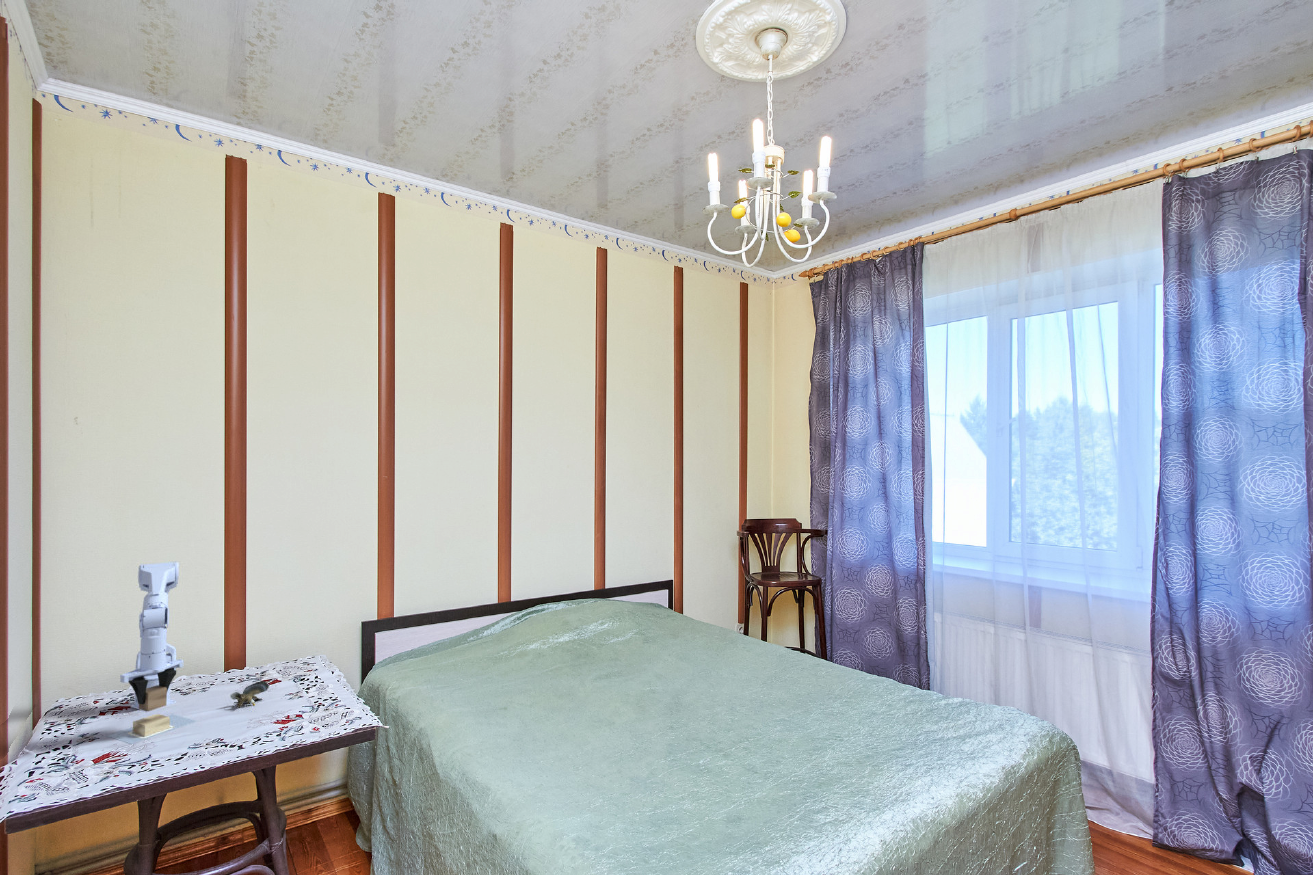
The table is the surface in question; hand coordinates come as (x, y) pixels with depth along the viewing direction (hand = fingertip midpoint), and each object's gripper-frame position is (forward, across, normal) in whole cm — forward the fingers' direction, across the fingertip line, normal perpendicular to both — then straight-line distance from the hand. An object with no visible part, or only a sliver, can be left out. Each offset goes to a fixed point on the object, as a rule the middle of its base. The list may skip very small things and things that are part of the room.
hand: (152, 700), depth 175 cm
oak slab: (+8, 0, 0) cm, 8 cm away
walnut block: (+2, 0, 0) cm, 2 cm away
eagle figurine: (+9, +24, -6) cm, 26 cm away
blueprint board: (+9, +1, +1) cm, 9 cm away
